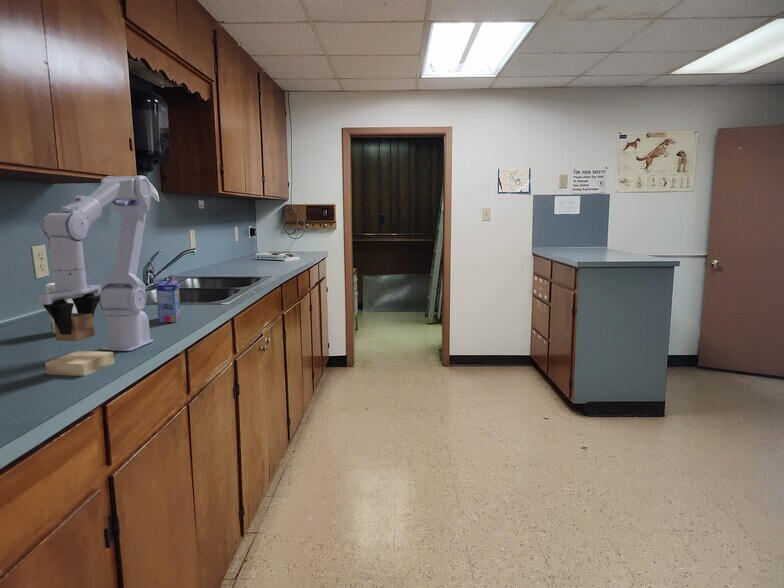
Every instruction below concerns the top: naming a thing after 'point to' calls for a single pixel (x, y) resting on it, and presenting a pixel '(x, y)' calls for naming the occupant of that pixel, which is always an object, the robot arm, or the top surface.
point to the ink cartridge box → (168, 301)
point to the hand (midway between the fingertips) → (76, 331)
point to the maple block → (79, 363)
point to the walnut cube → (78, 328)
